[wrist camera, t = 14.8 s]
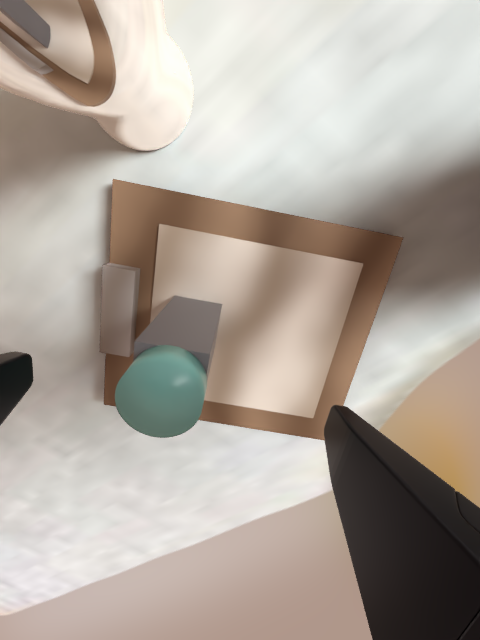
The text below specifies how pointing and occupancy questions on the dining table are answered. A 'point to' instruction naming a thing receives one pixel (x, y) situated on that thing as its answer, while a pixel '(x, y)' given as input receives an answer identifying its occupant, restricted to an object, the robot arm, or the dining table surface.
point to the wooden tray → (247, 300)
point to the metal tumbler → (99, 65)
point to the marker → (170, 369)
